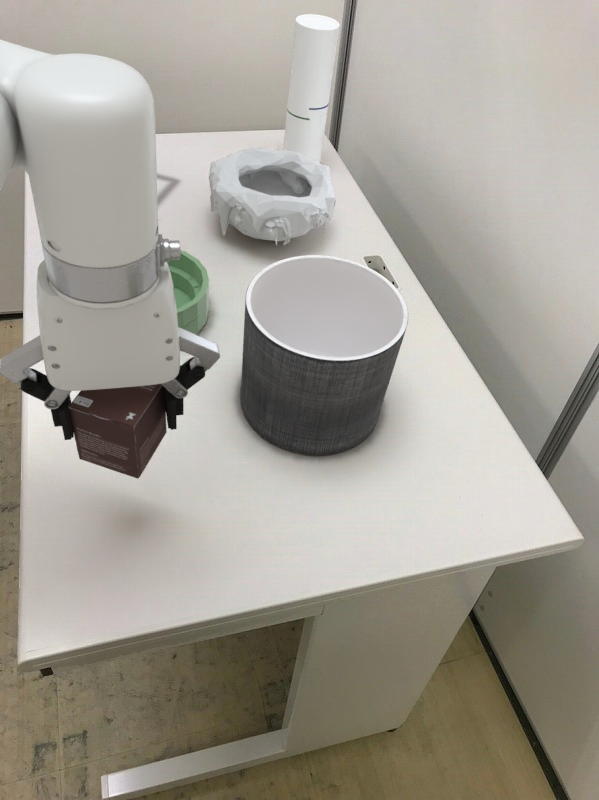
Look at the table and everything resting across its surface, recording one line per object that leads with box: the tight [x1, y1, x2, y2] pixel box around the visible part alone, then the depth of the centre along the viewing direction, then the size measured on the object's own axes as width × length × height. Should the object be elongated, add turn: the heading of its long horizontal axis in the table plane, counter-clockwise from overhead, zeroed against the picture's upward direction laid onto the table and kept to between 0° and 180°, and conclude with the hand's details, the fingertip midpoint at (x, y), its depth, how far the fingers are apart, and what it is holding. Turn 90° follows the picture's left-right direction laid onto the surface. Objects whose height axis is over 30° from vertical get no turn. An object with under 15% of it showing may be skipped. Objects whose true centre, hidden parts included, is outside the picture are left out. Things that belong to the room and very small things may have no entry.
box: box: [68, 384, 167, 480], centre depth 56 cm, size 6×6×7 cm
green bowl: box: [167, 249, 210, 335], centre depth 87 cm, size 16×16×6 cm
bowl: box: [208, 146, 337, 246], centre depth 103 cm, size 21×20×10 cm
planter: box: [239, 254, 409, 456], centre depth 75 cm, size 18×18×16 cm
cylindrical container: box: [282, 13, 341, 164], centre depth 112 cm, size 7×7×25 cm
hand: (120, 421), depth 57 cm, fingers closed on box, 8 cm apart
